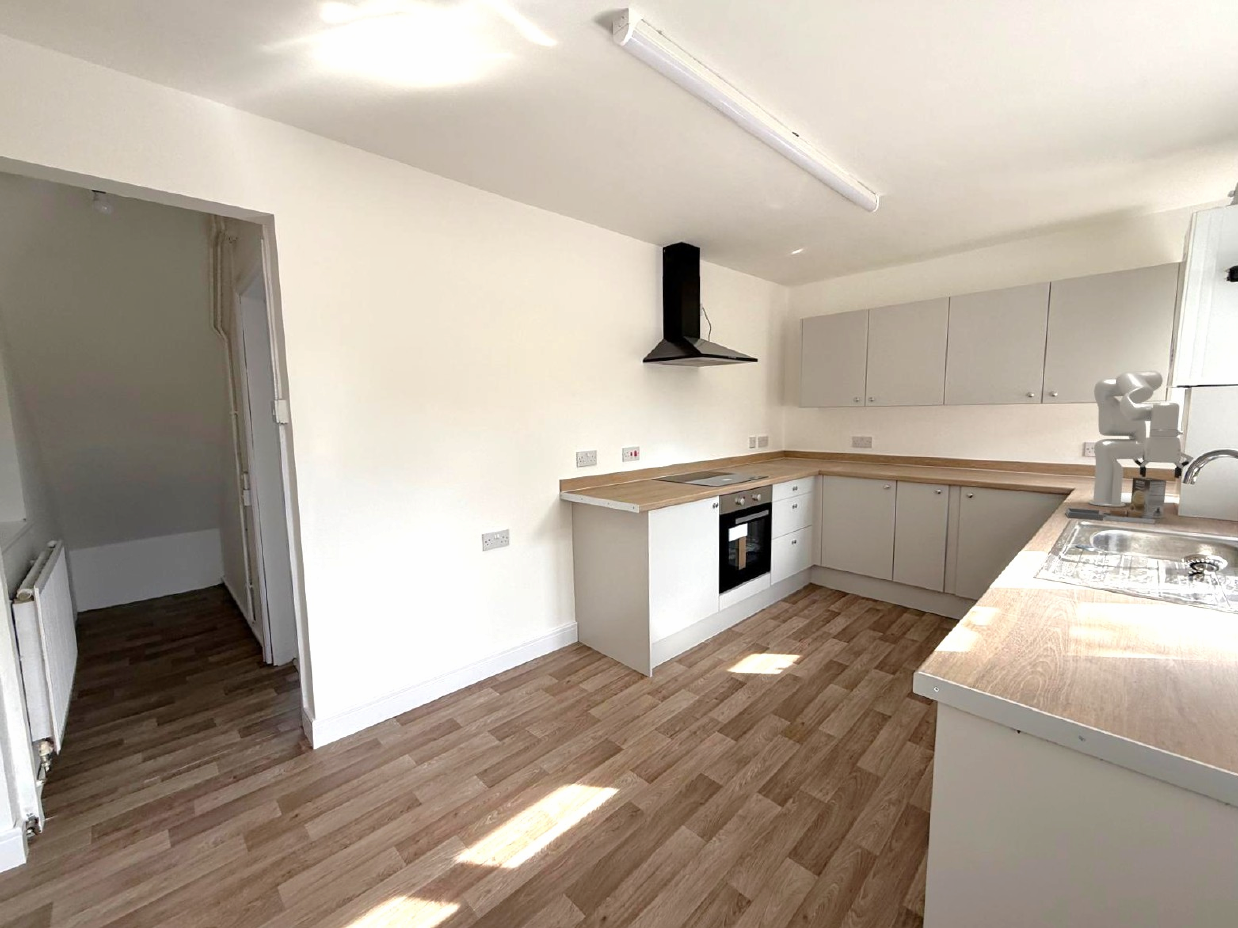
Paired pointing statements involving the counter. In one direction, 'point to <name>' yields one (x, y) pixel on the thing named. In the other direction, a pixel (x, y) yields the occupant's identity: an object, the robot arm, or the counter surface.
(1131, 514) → the walnut chip
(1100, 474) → the robot arm
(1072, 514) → the gray u-shaped frame
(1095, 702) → the counter surface
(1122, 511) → the walnut chip
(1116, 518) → the slot rails
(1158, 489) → the coffee box
